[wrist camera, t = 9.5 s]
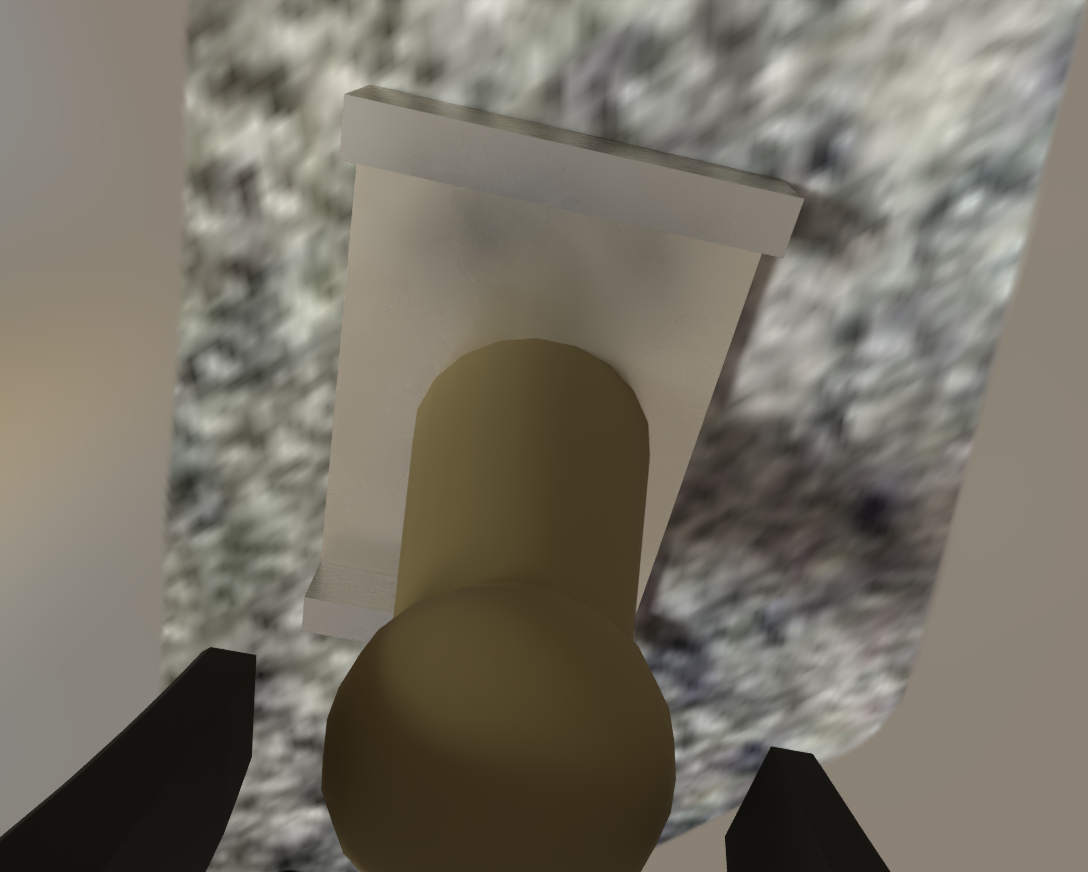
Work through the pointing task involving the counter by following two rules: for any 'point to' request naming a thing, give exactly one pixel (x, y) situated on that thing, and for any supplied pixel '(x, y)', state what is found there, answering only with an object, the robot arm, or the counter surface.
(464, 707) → the brown rounded piece
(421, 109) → the bottom track
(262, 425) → the counter surface
